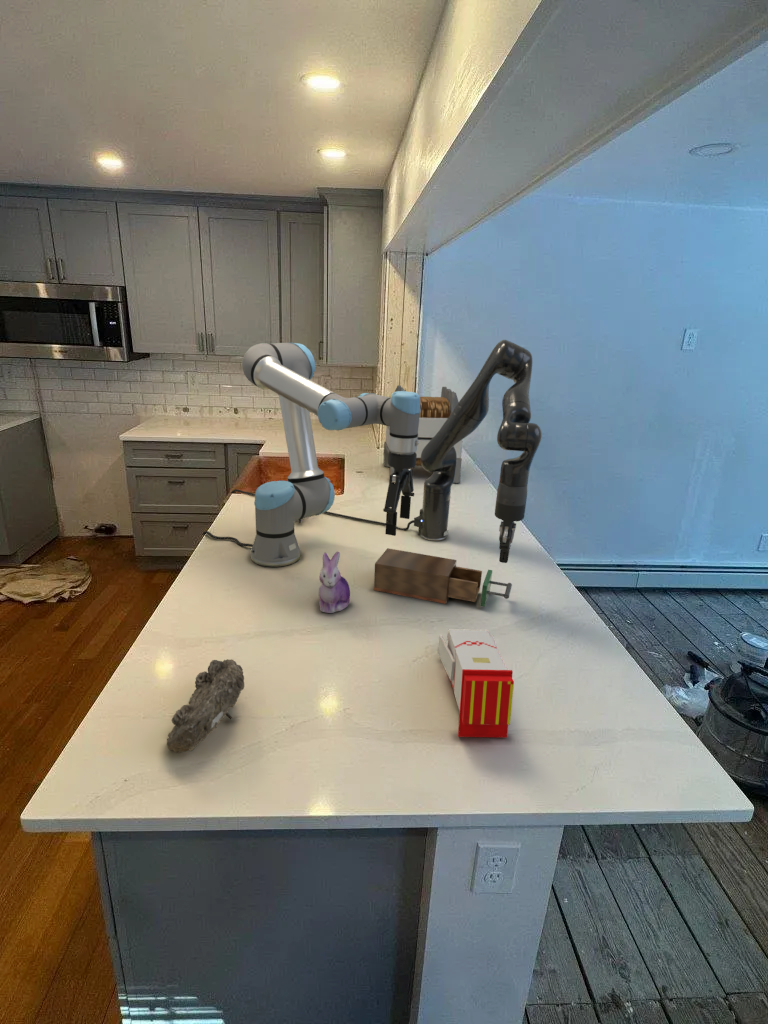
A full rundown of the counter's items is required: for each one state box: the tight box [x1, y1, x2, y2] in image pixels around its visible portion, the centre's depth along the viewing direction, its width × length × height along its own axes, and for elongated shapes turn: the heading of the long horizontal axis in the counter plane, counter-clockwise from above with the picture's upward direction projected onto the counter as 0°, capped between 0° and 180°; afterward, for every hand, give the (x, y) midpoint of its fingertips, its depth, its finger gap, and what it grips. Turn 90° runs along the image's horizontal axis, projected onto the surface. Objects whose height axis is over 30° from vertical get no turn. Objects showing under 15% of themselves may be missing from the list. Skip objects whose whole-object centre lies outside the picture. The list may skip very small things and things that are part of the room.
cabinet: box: [373, 548, 457, 605], centre depth 160 cm, size 21×11×8 cm, turn 72°
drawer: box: [447, 565, 513, 608], centre depth 156 cm, size 25×10×6 cm, turn 72°
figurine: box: [318, 551, 351, 614], centre depth 147 cm, size 9×10×15 cm
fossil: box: [166, 658, 245, 754], centre depth 106 cm, size 22×10×15 cm
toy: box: [437, 628, 515, 738], centre depth 117 cm, size 12×13×30 cm
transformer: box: [383, 384, 464, 484], centre depth 268 cm, size 34×33×41 cm
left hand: (397, 526), depth 157 cm, fingers open, 13 cm apart
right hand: (503, 561), depth 151 cm, fingers closed
